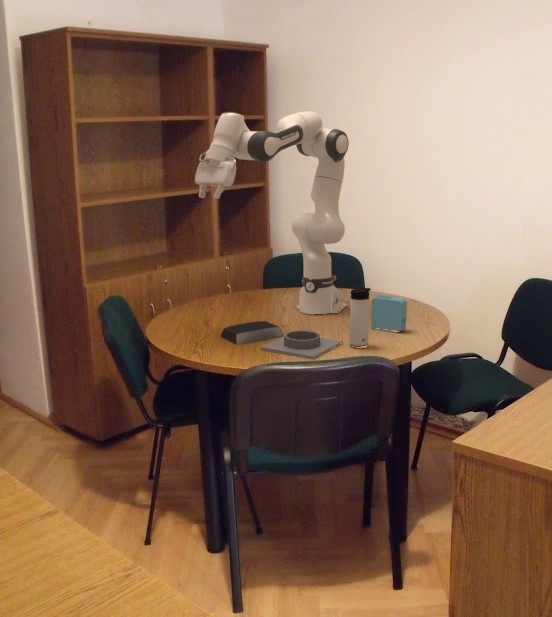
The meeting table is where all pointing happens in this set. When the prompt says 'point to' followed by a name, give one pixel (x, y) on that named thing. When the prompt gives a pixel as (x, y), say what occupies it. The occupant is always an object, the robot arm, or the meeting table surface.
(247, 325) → the external hard drive
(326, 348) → the mug holder
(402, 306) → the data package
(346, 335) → the meeting table surface
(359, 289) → the travel mug
